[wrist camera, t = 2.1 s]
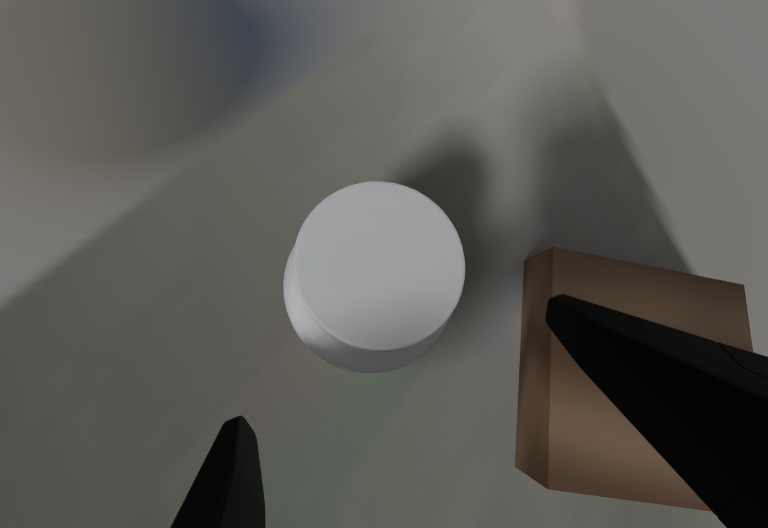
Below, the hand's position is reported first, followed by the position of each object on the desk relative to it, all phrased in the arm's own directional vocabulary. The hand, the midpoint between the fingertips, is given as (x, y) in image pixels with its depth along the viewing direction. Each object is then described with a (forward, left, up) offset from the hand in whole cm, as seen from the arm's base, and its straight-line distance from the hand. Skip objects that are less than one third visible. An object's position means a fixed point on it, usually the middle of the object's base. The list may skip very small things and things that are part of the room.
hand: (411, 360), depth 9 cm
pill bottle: (+2, +2, -10) cm, 11 cm away
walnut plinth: (+3, -14, -10) cm, 18 cm away
